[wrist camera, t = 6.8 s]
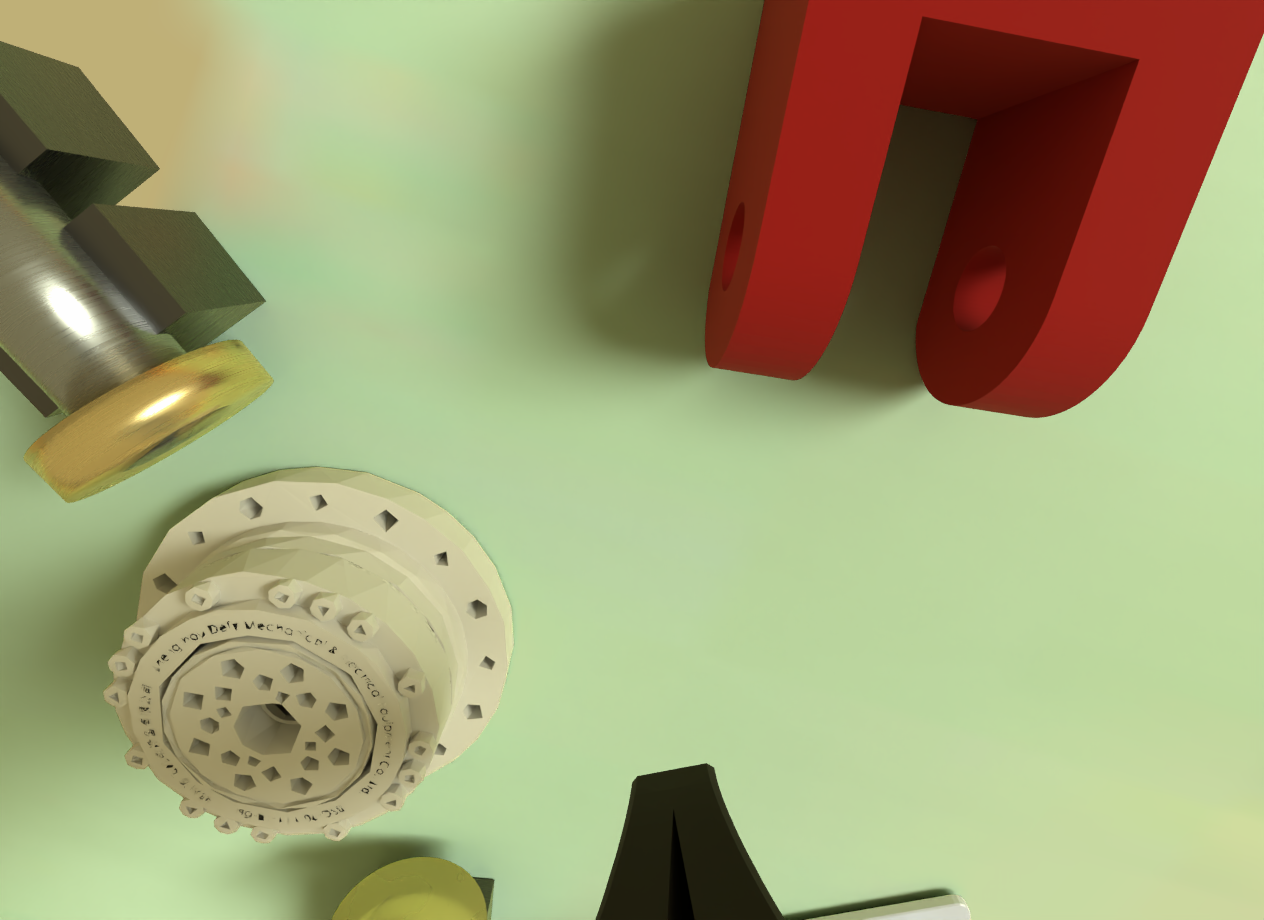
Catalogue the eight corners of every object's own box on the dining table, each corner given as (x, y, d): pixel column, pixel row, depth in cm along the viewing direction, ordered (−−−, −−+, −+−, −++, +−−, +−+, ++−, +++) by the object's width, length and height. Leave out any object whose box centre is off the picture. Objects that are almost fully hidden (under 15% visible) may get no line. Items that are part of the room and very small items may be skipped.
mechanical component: (232, 398, 16) (130, 680, 19) (100, 448, 12) (-7, 801, 15) (573, 560, 18) (435, 799, 21) (559, 652, 14) (389, 937, 17)
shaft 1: (321, 358, 16) (186, 408, 11) (193, 448, 17) (12, 532, 12) (74, 48, 14) (-234, -65, 9) (-62, 167, 14) (-419, 123, 9)
